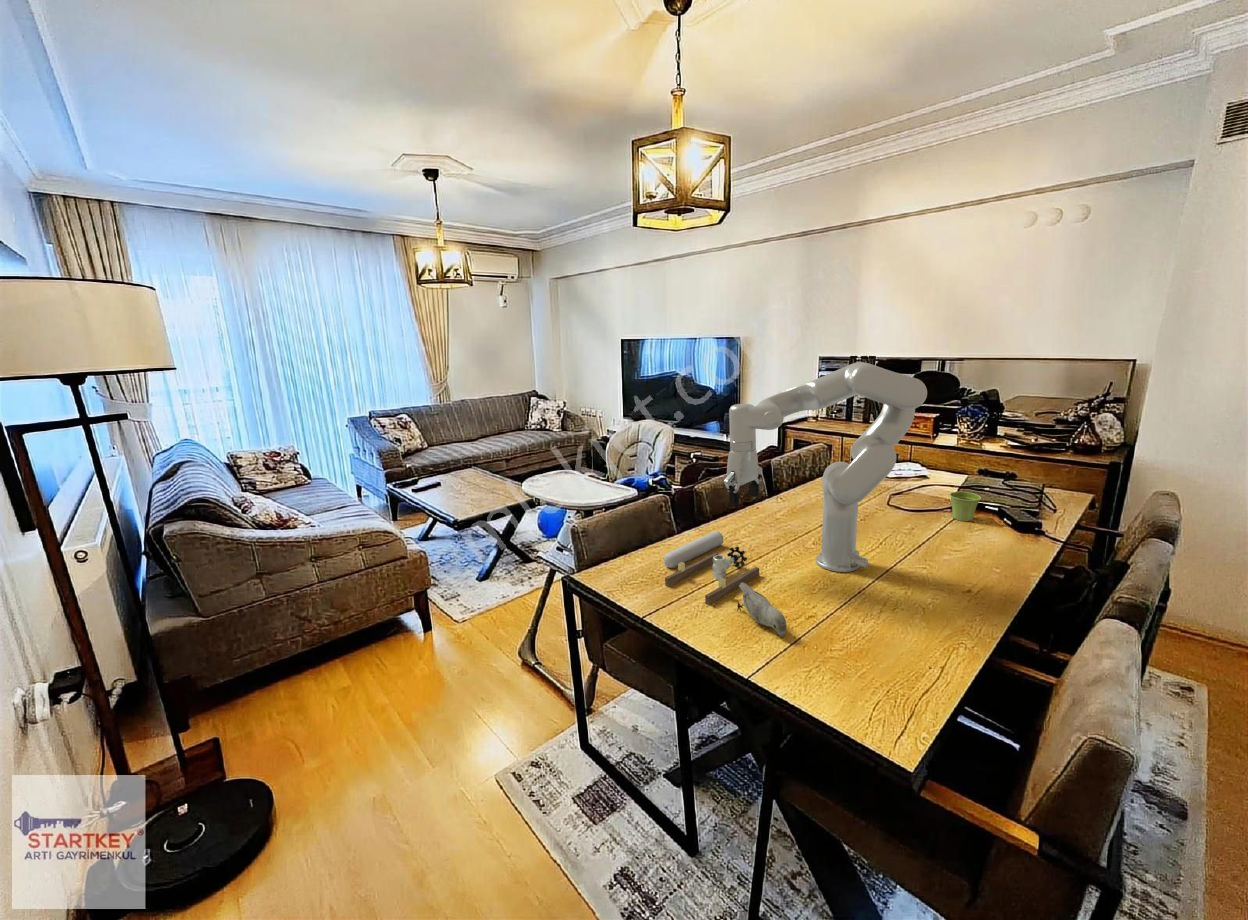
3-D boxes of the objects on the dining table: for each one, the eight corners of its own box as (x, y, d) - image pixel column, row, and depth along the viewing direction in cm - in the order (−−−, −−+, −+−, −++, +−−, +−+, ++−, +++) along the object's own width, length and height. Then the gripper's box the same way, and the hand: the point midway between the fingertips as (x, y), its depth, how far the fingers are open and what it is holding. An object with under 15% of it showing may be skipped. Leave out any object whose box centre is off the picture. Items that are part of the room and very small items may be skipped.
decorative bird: (774, 641, 121) (774, 613, 119) (733, 611, 135) (732, 585, 133) (792, 635, 123) (793, 607, 121) (749, 605, 137) (749, 580, 135)
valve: (724, 583, 149) (747, 568, 157) (724, 562, 148) (747, 549, 156) (706, 577, 154) (729, 563, 162) (705, 556, 152) (728, 543, 160)
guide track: (759, 575, 152) (759, 560, 151) (708, 605, 138) (708, 588, 137) (715, 559, 164) (715, 545, 163) (665, 585, 150) (664, 570, 149)
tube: (674, 560, 157) (725, 535, 173) (662, 551, 160) (713, 527, 176) (670, 574, 160) (721, 548, 175) (659, 564, 163) (710, 539, 178)
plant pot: (978, 516, 186) (980, 493, 184) (978, 525, 178) (981, 501, 176) (947, 512, 191) (949, 490, 189) (947, 521, 183) (949, 498, 181)
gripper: (750, 439, 161) (751, 491, 165) (714, 450, 150) (716, 505, 154) (770, 441, 155) (771, 495, 159) (734, 453, 145) (736, 510, 149)
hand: (744, 500), depth 157 cm, fingers open, 9 cm apart
